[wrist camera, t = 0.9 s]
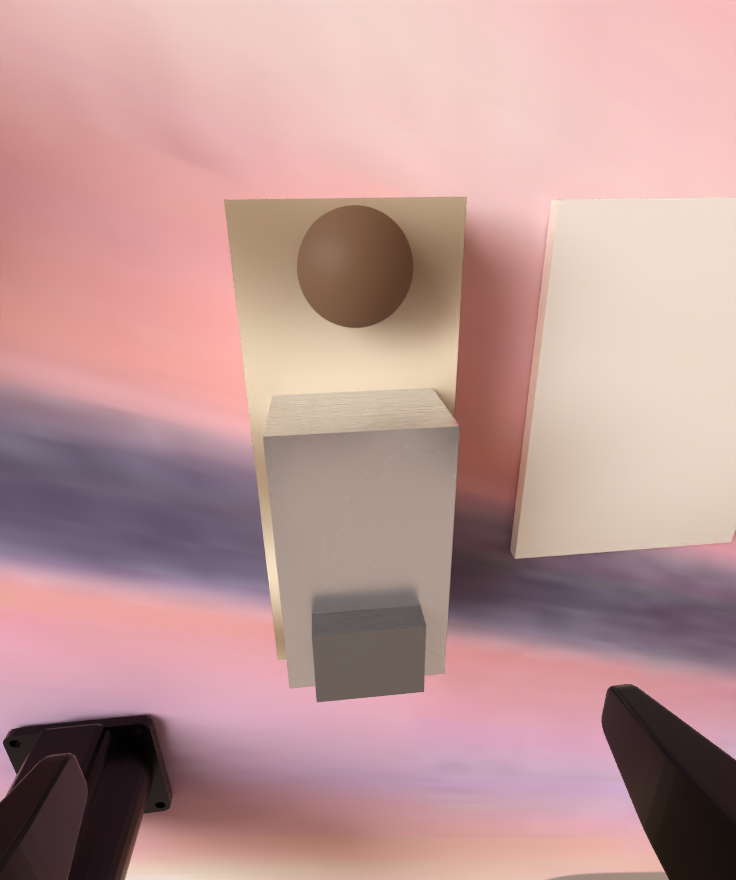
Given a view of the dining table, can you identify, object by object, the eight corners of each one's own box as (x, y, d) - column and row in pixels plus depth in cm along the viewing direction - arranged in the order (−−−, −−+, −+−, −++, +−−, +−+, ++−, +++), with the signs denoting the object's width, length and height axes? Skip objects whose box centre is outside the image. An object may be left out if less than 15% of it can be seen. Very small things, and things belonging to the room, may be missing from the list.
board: (721, 534, 23) (731, 542, 23) (510, 550, 22) (515, 558, 22) (827, 196, 18) (844, 195, 17) (551, 200, 17) (559, 199, 16)
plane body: (420, 575, 22) (455, 690, 17) (283, 586, 22) (274, 708, 16) (432, 202, 16) (491, 193, 11) (244, 204, 16) (208, 196, 10)
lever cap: (424, 604, 18) (451, 696, 14) (293, 615, 18) (288, 713, 14) (432, 388, 15) (468, 440, 11) (272, 395, 14) (259, 451, 11)
